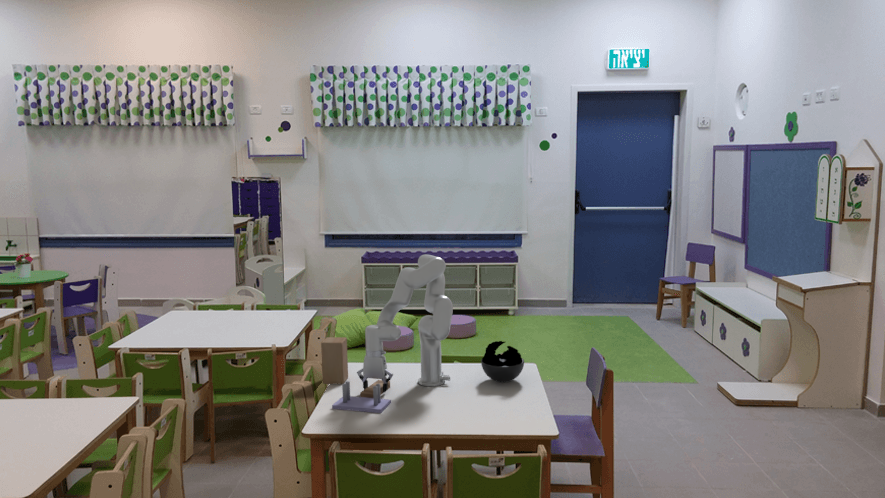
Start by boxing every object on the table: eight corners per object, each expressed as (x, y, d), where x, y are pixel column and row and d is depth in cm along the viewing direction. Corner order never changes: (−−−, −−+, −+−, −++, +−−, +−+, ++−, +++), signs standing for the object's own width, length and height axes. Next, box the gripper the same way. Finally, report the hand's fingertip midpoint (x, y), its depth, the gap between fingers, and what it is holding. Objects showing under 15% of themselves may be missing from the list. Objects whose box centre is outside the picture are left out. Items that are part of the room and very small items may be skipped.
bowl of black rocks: (480, 374, 333) (480, 336, 331) (522, 374, 332) (522, 336, 330) (481, 388, 314) (481, 348, 311) (525, 388, 313) (525, 347, 310)
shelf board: (378, 387, 319) (378, 379, 319) (390, 388, 317) (390, 381, 317) (360, 400, 302) (360, 392, 302) (372, 401, 300) (372, 393, 300)
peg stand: (391, 403, 297) (390, 381, 296) (381, 413, 286) (380, 390, 284) (343, 398, 303) (343, 377, 302) (332, 408, 292) (331, 386, 290)
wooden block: (348, 377, 332) (346, 337, 330) (343, 384, 323) (341, 342, 320) (328, 377, 333) (326, 336, 331) (322, 384, 324) (320, 342, 321)
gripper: (395, 352, 308) (396, 389, 311) (359, 349, 313) (360, 386, 315) (389, 356, 301) (390, 395, 303) (352, 354, 306) (354, 391, 308)
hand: (375, 390), depth 309 cm, fingers open, 8 cm apart
